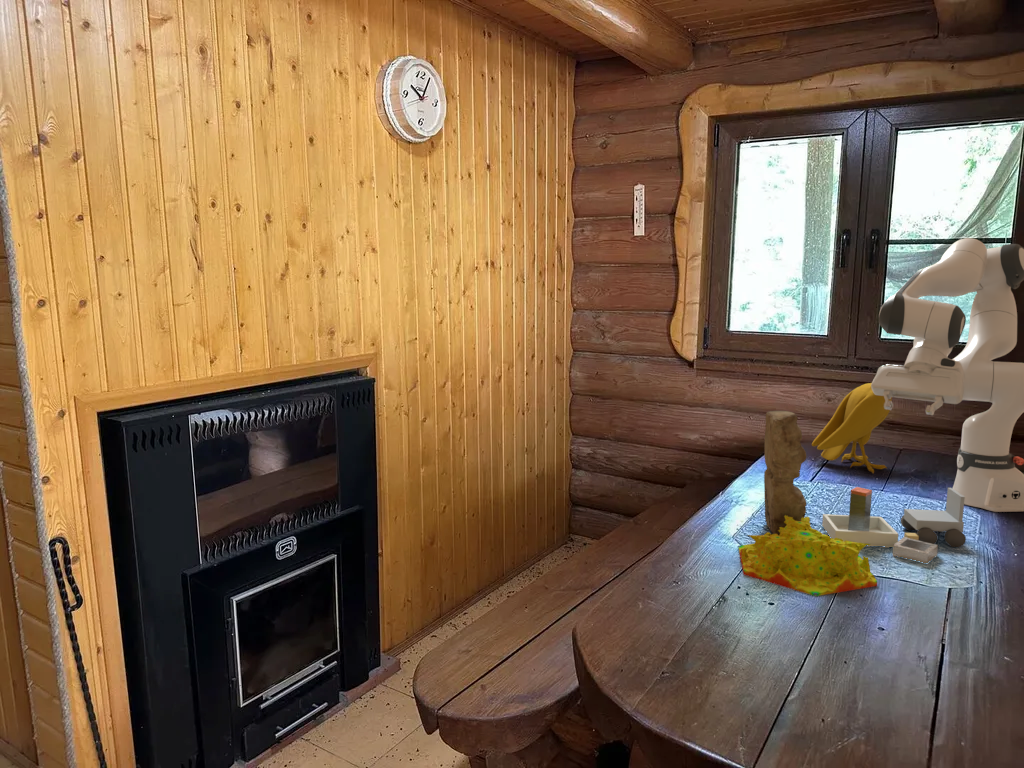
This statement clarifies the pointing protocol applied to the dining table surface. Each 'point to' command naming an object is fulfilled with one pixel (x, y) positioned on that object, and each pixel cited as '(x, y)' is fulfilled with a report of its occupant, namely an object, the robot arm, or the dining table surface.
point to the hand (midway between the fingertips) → (907, 410)
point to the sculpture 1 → (782, 469)
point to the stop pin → (860, 509)
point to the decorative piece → (806, 560)
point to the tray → (876, 535)
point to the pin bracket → (915, 550)
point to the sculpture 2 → (853, 426)
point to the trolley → (938, 521)
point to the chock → (911, 536)
